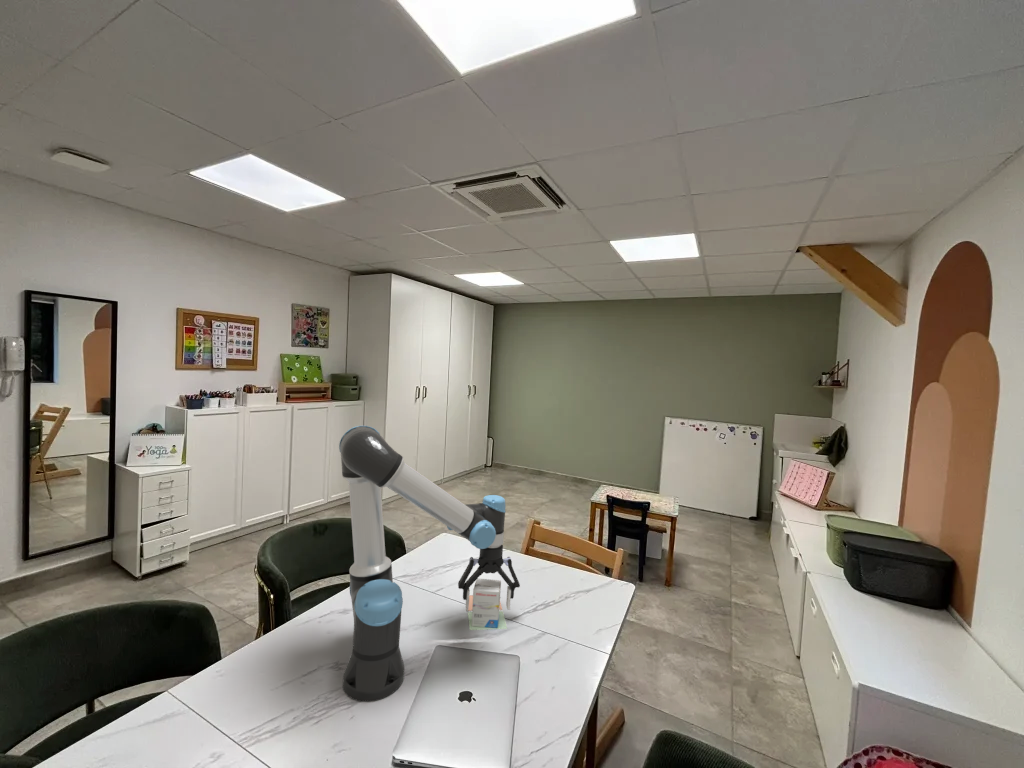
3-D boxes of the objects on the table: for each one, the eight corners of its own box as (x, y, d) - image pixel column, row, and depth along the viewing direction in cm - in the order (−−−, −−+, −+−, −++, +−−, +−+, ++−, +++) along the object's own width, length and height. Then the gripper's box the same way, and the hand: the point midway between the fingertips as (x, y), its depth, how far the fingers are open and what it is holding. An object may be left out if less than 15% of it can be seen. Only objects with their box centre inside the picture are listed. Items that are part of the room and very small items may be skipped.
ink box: (499, 613, 138) (501, 579, 138) (497, 628, 129) (500, 591, 129) (474, 611, 138) (476, 577, 138) (470, 626, 129) (473, 589, 129)
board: (510, 633, 129) (510, 629, 129) (466, 635, 127) (466, 631, 127) (500, 597, 151) (500, 593, 151) (462, 598, 148) (463, 594, 149)
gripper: (526, 539, 139) (522, 601, 139) (453, 539, 135) (449, 603, 135) (531, 548, 132) (527, 613, 132) (453, 548, 128) (449, 616, 128)
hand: (487, 608), depth 133 cm, fingers open, 13 cm apart
